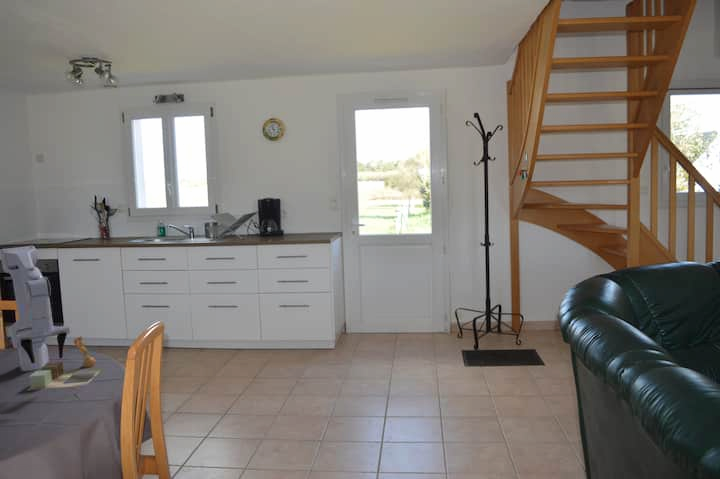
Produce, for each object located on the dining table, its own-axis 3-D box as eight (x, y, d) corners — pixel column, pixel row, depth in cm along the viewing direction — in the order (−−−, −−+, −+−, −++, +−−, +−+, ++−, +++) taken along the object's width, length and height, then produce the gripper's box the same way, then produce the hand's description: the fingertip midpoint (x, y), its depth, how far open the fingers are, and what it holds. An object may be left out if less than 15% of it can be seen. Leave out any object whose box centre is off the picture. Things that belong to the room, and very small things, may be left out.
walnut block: (49, 373, 182) (48, 362, 182) (63, 372, 183) (62, 361, 182) (43, 379, 178) (42, 367, 177) (57, 378, 178) (56, 366, 178)
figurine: (95, 371, 187) (91, 337, 185) (76, 374, 184) (72, 340, 183) (96, 363, 194) (93, 331, 192) (78, 366, 192) (74, 334, 190)
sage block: (37, 382, 175) (36, 371, 174) (52, 381, 175) (50, 369, 175) (30, 388, 171) (29, 376, 170) (45, 387, 171) (44, 375, 170)
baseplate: (47, 376, 183) (46, 373, 183) (102, 372, 185) (102, 368, 185) (26, 393, 169) (26, 389, 169) (86, 389, 171) (85, 385, 171)
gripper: (12, 324, 161) (18, 368, 162) (66, 315, 167) (72, 358, 168) (15, 319, 168) (21, 362, 169) (68, 312, 174) (73, 353, 175)
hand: (47, 360), depth 169 cm, fingers open, 7 cm apart
